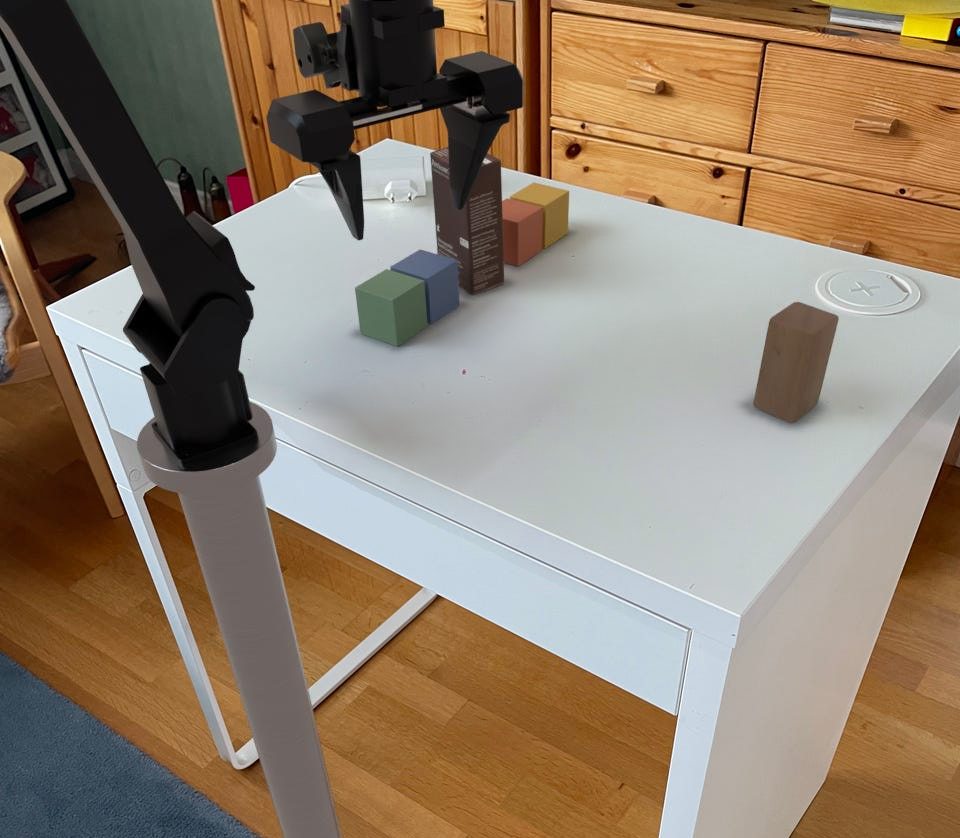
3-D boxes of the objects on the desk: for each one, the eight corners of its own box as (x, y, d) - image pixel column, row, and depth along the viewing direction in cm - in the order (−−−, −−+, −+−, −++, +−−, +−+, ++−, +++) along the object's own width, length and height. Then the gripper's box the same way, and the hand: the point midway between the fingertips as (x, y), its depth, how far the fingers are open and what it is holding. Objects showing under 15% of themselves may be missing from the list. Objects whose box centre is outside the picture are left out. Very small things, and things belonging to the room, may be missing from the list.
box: (435, 276, 99) (427, 150, 91) (472, 264, 101) (467, 139, 93) (469, 298, 96) (464, 169, 87) (506, 284, 98) (505, 157, 89)
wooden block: (750, 408, 81) (767, 317, 75) (777, 388, 83) (795, 298, 77) (793, 426, 79) (814, 333, 73) (819, 405, 81) (841, 314, 75)
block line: (397, 346, 90) (393, 300, 86) (360, 333, 91) (354, 287, 88) (568, 233, 106) (569, 190, 102) (533, 224, 108) (533, 182, 104)
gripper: (441, -50, 74) (452, 165, 85) (213, -9, 67) (256, 220, 78) (529, -25, 68) (527, 205, 79) (285, 24, 61) (322, 269, 72)
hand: (408, 223), depth 77 cm, fingers open, 9 cm apart
